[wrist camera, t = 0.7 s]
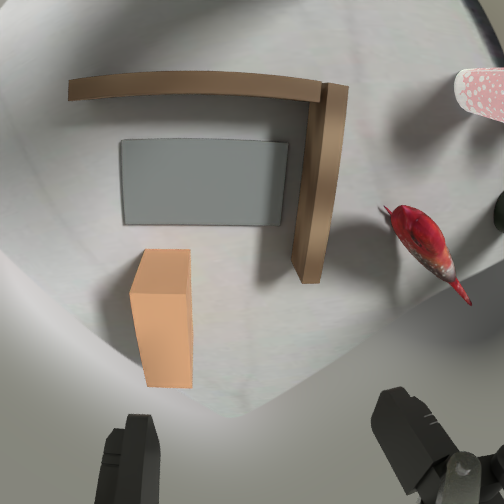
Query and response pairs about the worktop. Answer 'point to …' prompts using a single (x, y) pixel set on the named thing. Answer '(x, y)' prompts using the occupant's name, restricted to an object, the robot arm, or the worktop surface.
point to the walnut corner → (268, 86)
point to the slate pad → (203, 181)
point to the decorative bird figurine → (426, 244)
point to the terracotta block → (164, 317)
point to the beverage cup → (481, 92)
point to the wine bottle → (499, 214)
